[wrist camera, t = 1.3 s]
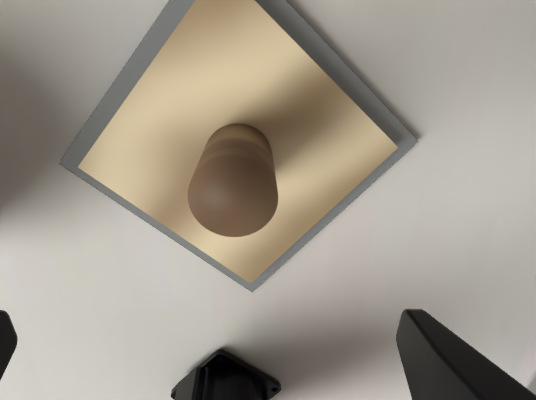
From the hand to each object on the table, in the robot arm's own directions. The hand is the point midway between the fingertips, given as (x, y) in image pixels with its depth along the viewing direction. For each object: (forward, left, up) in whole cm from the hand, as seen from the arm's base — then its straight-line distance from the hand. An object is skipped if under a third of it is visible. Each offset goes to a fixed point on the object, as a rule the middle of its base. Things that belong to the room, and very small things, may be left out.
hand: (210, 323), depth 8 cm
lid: (0, 0, -12) cm, 12 cm away
